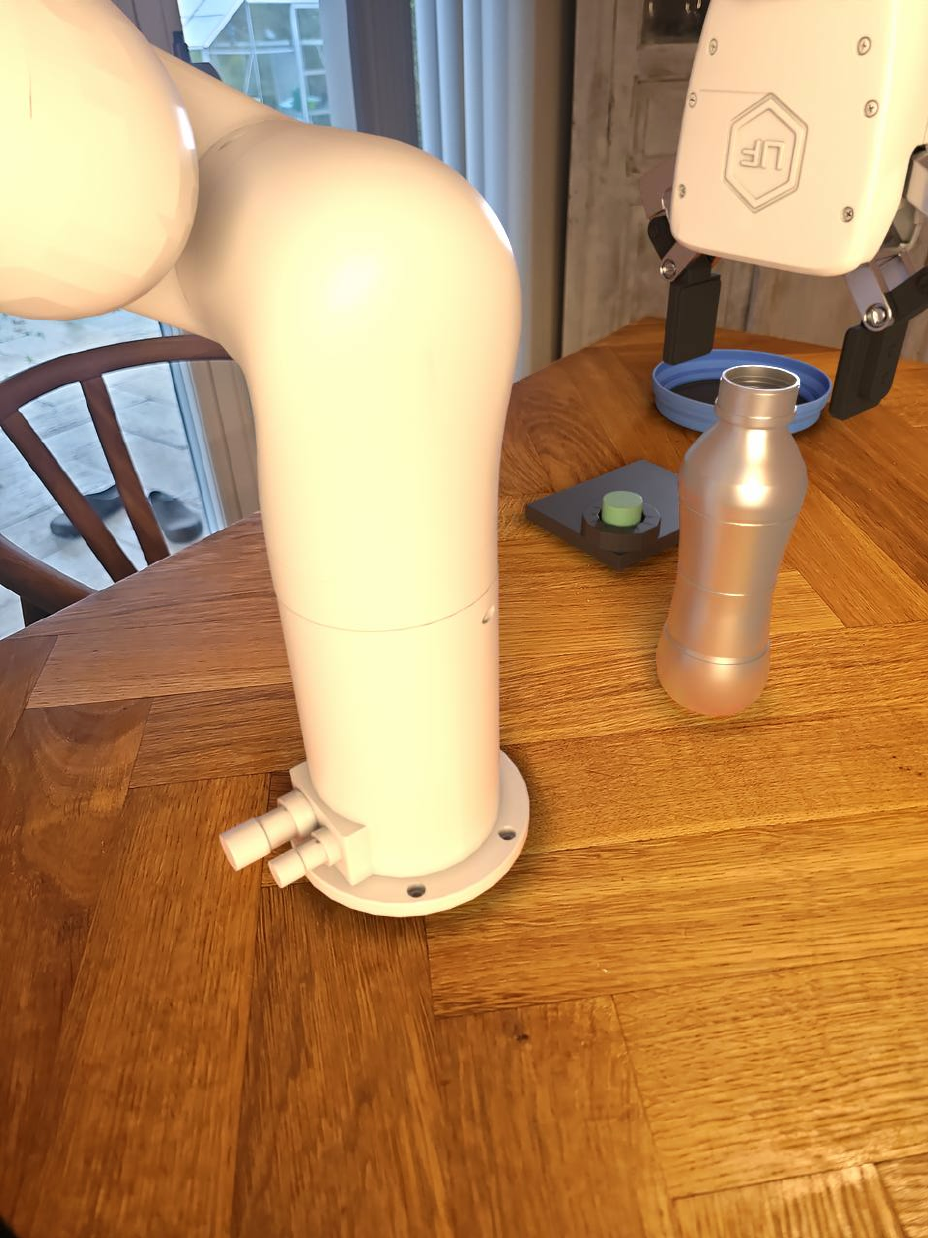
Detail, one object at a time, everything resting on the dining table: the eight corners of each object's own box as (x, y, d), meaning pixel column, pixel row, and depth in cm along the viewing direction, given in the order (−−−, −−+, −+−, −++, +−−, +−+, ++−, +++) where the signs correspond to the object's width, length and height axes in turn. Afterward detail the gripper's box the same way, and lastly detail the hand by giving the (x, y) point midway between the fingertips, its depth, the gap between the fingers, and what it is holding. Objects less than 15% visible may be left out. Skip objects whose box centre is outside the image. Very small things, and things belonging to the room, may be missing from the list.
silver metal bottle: (721, 747, 49) (787, 413, 37) (629, 691, 53) (662, 377, 41) (783, 697, 52) (861, 377, 41) (692, 648, 56) (739, 347, 45)
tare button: (621, 533, 64) (622, 512, 63) (593, 518, 66) (594, 498, 65) (648, 520, 65) (651, 500, 64) (620, 507, 67) (622, 486, 66)
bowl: (620, 420, 89) (623, 387, 87) (688, 369, 101) (692, 339, 99) (794, 457, 80) (801, 421, 78) (845, 397, 92) (853, 365, 90)
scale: (618, 576, 64) (621, 542, 62) (521, 520, 71) (521, 488, 70) (742, 518, 71) (748, 485, 69) (641, 472, 78) (644, 442, 77)
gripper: (603, -50, 35) (584, 357, 45) (1038, -100, 24) (885, 462, 34) (722, -50, 39) (680, 328, 49) (1150, -93, 27) (981, 414, 37)
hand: (764, 382), depth 41 cm, fingers open, 9 cm apart
